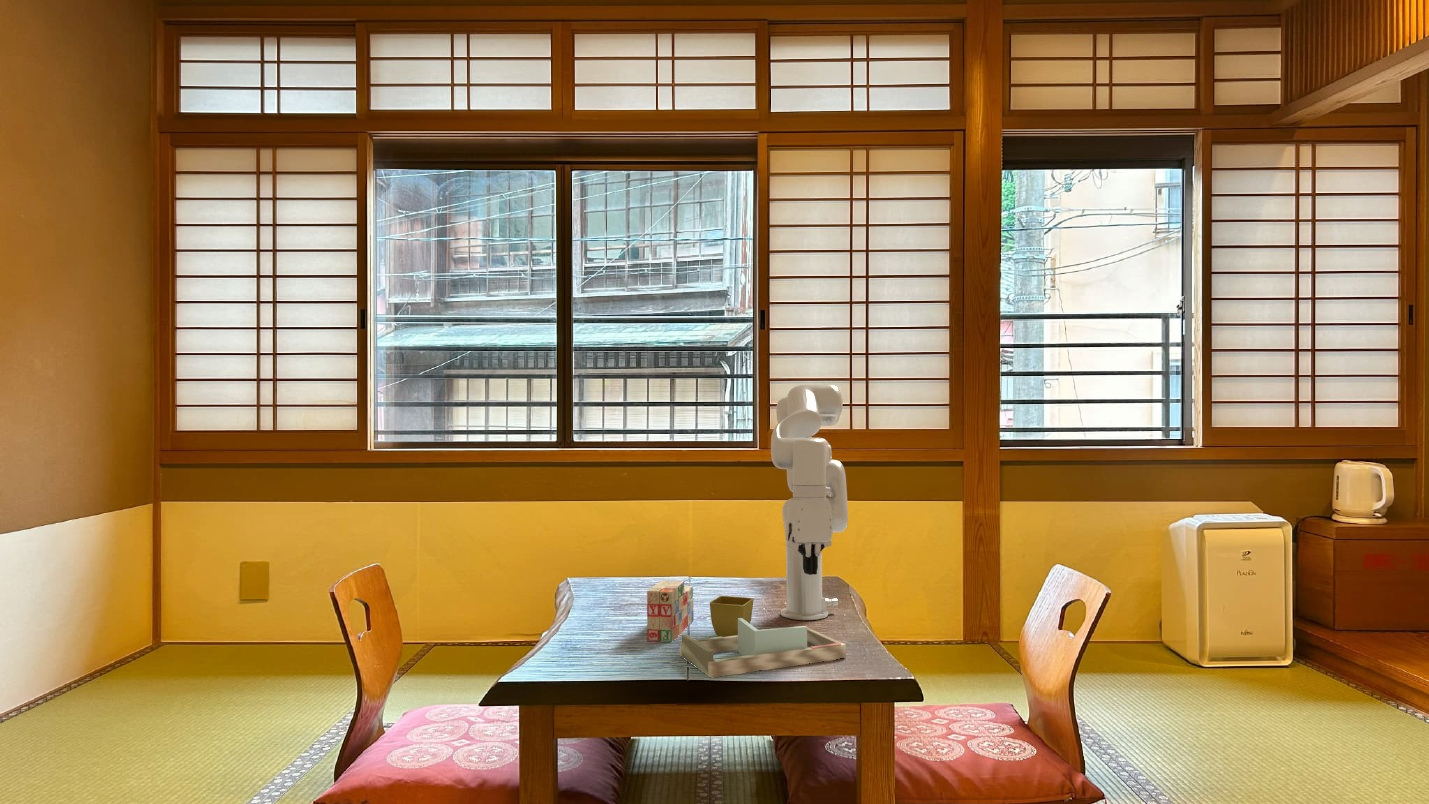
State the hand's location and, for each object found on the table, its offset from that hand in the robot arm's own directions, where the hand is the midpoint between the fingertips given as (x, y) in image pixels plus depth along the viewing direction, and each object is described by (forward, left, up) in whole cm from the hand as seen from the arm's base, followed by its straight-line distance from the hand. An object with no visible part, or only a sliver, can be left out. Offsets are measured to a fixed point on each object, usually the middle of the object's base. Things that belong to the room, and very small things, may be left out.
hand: (810, 573), depth 188 cm
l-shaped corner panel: (+10, 0, -18) cm, 20 cm away
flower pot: (+11, -18, -18) cm, 28 cm away
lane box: (+12, 0, -18) cm, 21 cm away
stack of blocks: (+22, -31, -18) cm, 42 cm away
